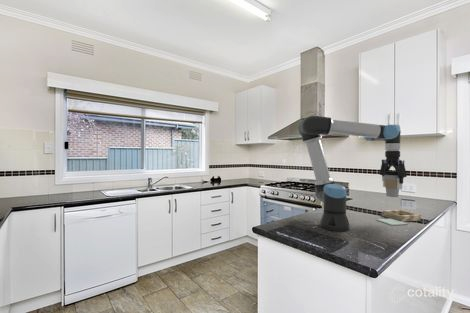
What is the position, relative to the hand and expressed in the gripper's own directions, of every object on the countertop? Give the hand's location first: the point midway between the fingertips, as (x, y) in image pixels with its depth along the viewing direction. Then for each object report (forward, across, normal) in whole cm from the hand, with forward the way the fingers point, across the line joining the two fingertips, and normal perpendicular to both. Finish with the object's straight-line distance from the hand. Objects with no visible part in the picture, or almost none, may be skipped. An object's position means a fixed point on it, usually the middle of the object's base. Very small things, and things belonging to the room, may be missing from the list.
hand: (392, 187), depth 142 cm
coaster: (+21, 0, 0) cm, 21 cm away
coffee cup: (+5, 0, 0) cm, 5 cm away
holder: (+21, +7, -14) cm, 26 cm away
